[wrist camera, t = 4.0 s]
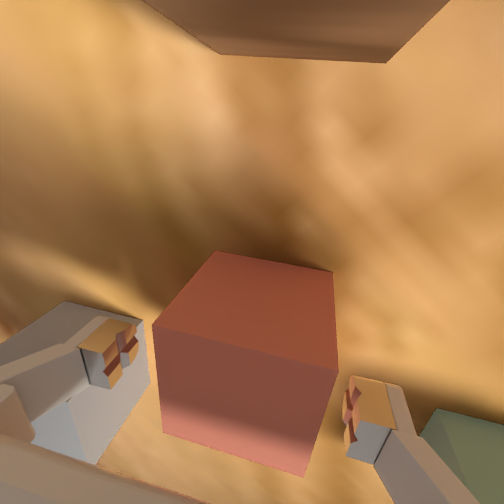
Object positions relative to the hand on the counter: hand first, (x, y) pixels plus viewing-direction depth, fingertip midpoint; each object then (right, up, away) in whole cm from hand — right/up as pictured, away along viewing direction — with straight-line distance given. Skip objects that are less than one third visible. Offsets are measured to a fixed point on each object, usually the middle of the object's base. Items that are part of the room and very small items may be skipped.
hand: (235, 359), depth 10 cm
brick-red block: (+1, +1, +3) cm, 3 cm away
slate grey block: (-8, -1, +6) cm, 10 cm away
